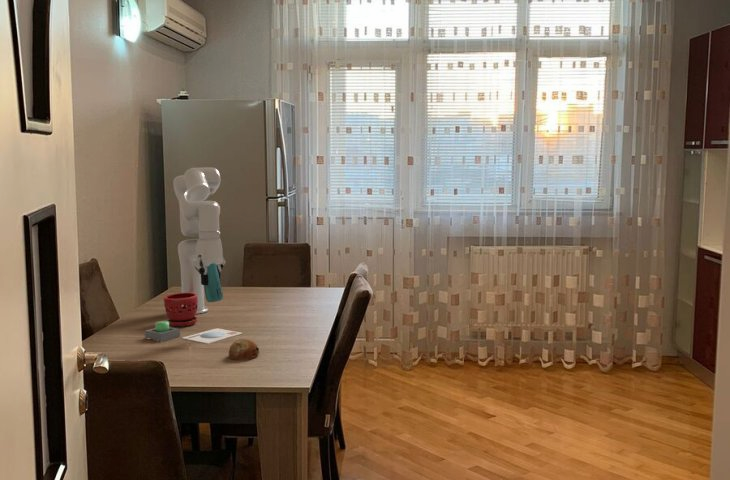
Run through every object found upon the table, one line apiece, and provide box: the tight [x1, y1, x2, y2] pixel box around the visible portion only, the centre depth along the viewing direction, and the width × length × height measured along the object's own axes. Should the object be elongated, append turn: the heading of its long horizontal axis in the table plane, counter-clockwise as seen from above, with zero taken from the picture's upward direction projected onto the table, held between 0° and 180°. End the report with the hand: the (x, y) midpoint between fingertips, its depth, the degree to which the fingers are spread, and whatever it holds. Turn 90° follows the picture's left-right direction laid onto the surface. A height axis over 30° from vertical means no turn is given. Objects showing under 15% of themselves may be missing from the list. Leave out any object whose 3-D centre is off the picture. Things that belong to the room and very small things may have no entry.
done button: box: [154, 320, 170, 333], centre depth 281 cm, size 5×5×4 cm
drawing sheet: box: [181, 327, 244, 345], centre depth 283 cm, size 14×18×1 cm
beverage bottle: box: [200, 263, 224, 303], centre depth 280 cm, size 6×7×20 cm
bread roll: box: [228, 338, 260, 361], centre depth 255 cm, size 10×10×8 cm
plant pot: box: [163, 292, 198, 328], centre depth 302 cm, size 13×13×12 cm
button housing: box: [144, 326, 181, 342], centre depth 281 cm, size 9×9×3 cm
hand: (210, 283), depth 280 cm, fingers closed on beverage bottle, 5 cm apart
